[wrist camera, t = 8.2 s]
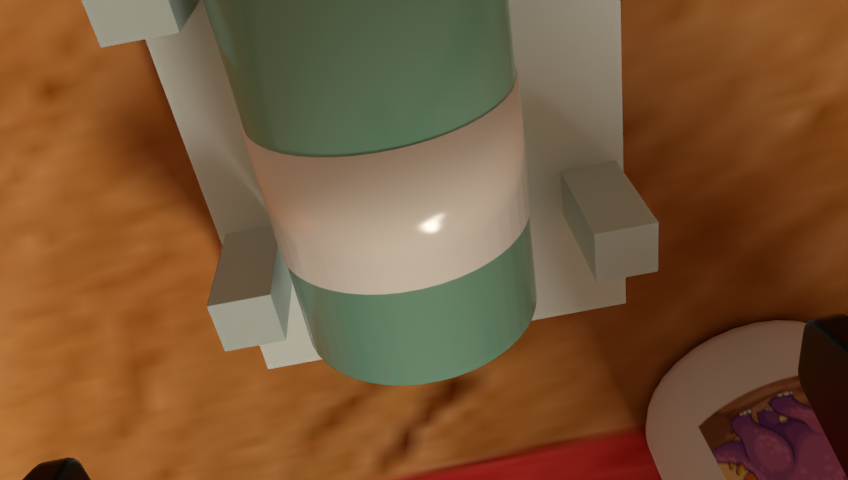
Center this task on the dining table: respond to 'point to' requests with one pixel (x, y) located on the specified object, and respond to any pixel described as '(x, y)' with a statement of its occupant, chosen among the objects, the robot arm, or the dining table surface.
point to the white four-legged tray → (544, 146)
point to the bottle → (389, 175)
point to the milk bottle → (739, 411)
